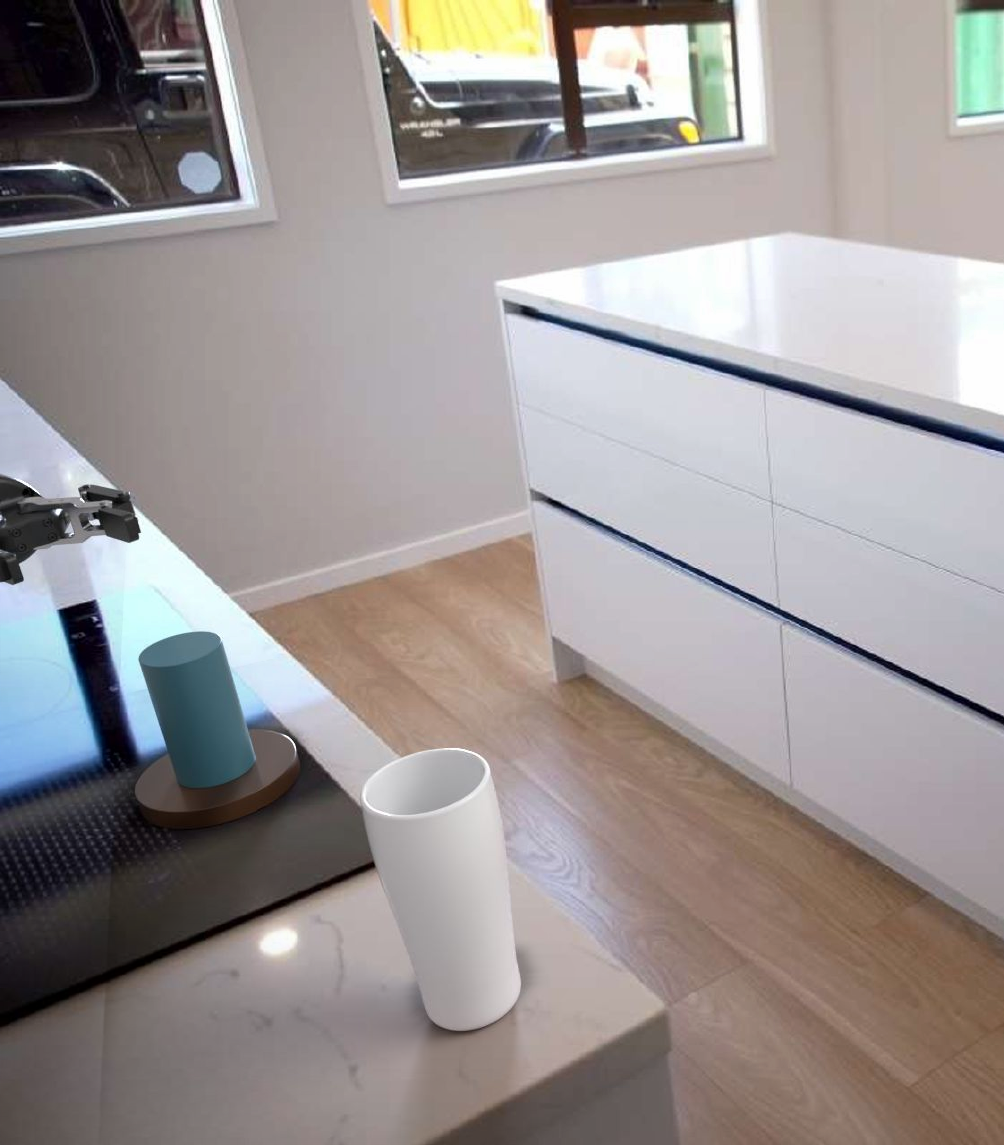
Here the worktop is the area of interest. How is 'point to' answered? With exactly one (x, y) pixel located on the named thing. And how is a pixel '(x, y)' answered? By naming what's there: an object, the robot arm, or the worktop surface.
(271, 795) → the walnut disc
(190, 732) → the cylinder
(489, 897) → the drinking glass
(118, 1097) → the worktop surface
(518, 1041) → the worktop surface
